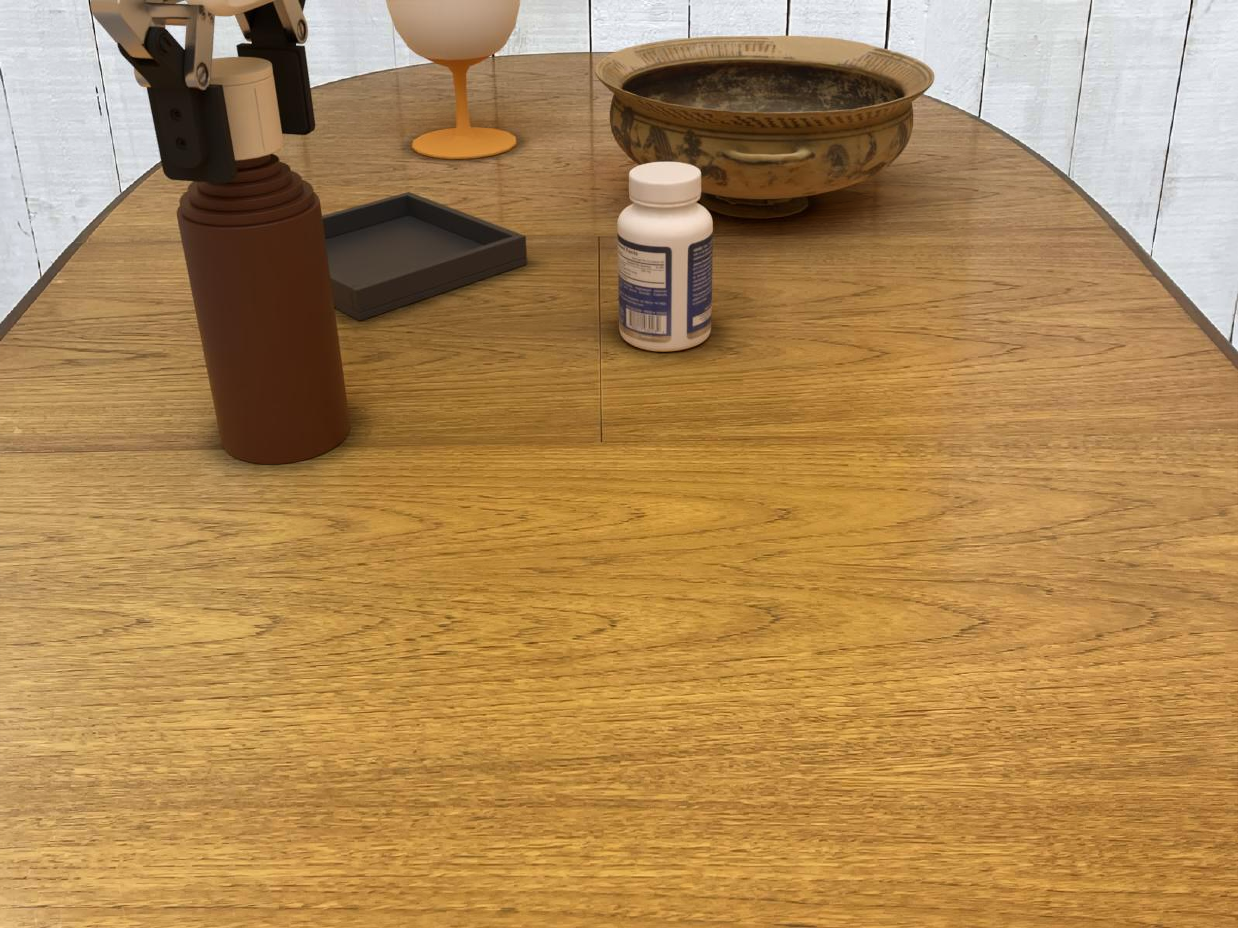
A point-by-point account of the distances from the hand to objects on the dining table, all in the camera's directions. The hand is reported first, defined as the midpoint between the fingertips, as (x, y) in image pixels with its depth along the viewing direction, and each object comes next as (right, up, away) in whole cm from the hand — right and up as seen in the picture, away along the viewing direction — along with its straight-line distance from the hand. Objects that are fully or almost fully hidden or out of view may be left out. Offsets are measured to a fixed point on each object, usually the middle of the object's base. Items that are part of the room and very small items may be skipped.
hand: (244, 151), depth 56 cm
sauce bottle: (0, -13, +7) cm, 15 cm away
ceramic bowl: (+27, +5, +38) cm, 47 cm away
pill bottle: (+20, -7, +17) cm, 27 cm away
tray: (+1, -1, +27) cm, 27 cm away
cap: (0, 0, 0) cm, 0 cm away
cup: (+4, +13, +52) cm, 54 cm away
